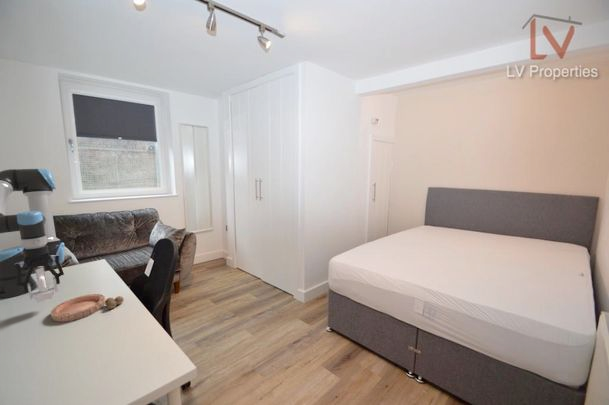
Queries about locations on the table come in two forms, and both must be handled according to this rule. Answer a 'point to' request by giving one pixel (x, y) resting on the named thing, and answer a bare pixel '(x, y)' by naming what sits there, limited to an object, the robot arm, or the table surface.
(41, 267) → the figurine
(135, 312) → the table surface
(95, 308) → the dish
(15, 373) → the table surface
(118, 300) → the wooden beads
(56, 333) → the table surface
